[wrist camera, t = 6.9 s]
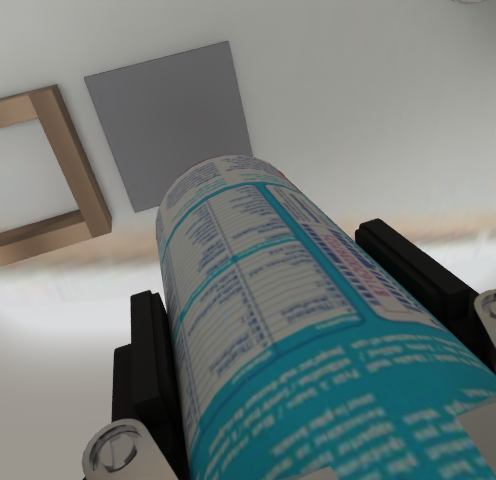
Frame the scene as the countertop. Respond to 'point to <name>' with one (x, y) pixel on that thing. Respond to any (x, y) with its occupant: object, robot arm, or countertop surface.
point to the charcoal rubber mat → (169, 117)
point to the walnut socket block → (74, 169)
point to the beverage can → (303, 341)
